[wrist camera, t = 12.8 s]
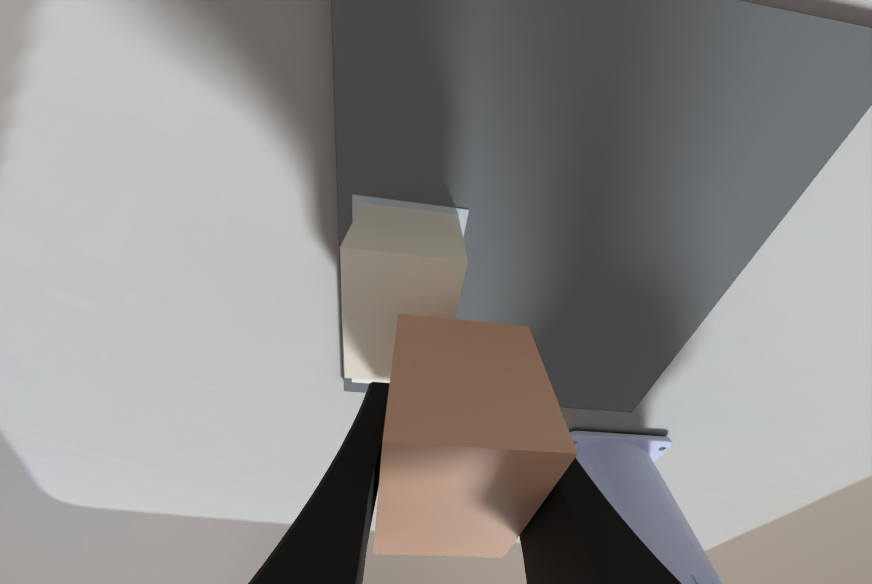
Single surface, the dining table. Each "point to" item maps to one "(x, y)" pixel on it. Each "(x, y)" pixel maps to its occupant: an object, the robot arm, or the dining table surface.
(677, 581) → the robot arm
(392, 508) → the terracotta brick
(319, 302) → the dining table surface
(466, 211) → the mat
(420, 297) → the cream brick
